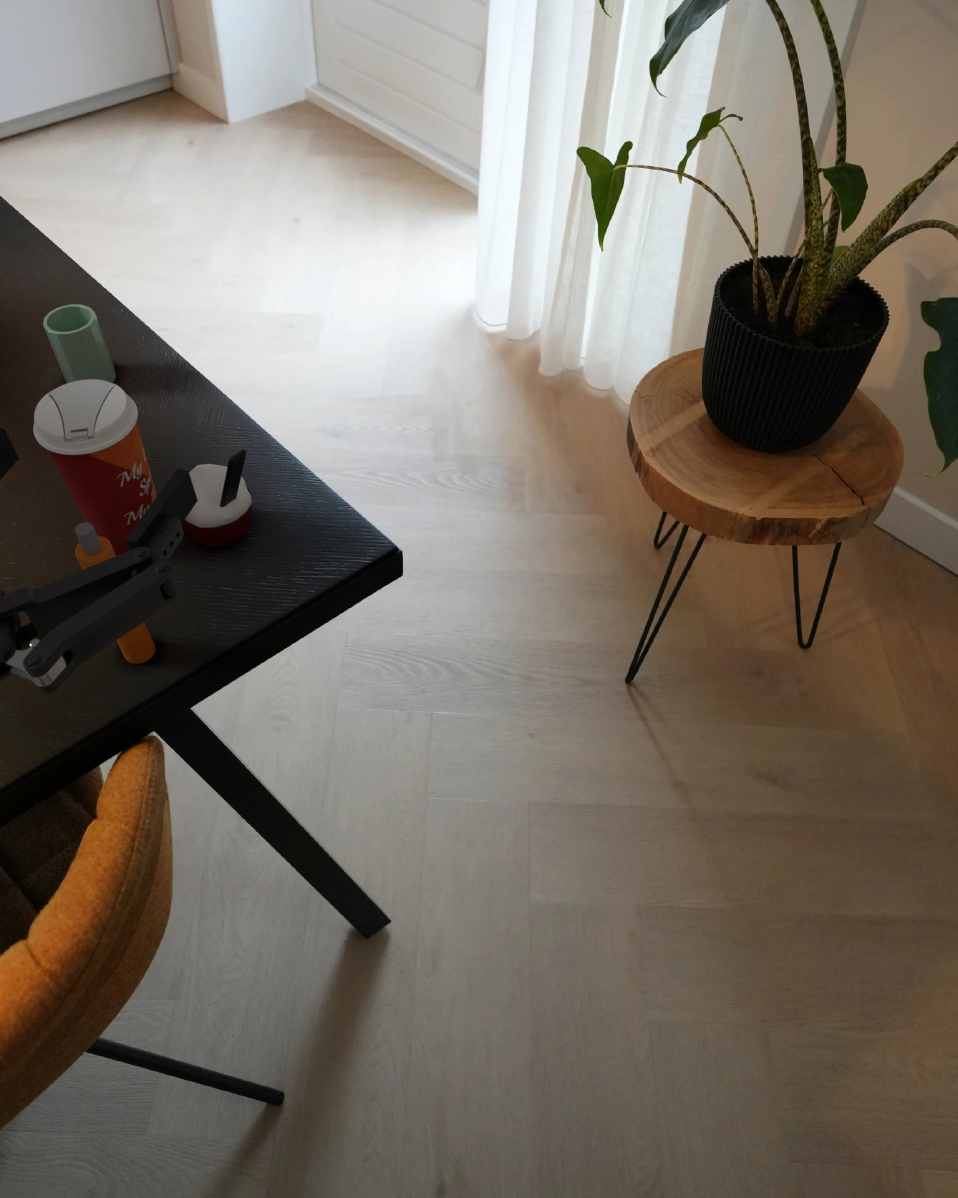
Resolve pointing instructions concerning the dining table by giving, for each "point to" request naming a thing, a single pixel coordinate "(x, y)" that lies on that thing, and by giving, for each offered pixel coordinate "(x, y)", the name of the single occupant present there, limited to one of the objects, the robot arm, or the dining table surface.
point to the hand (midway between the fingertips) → (96, 462)
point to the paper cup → (98, 454)
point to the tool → (99, 549)
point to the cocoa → (219, 503)
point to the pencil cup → (79, 344)
